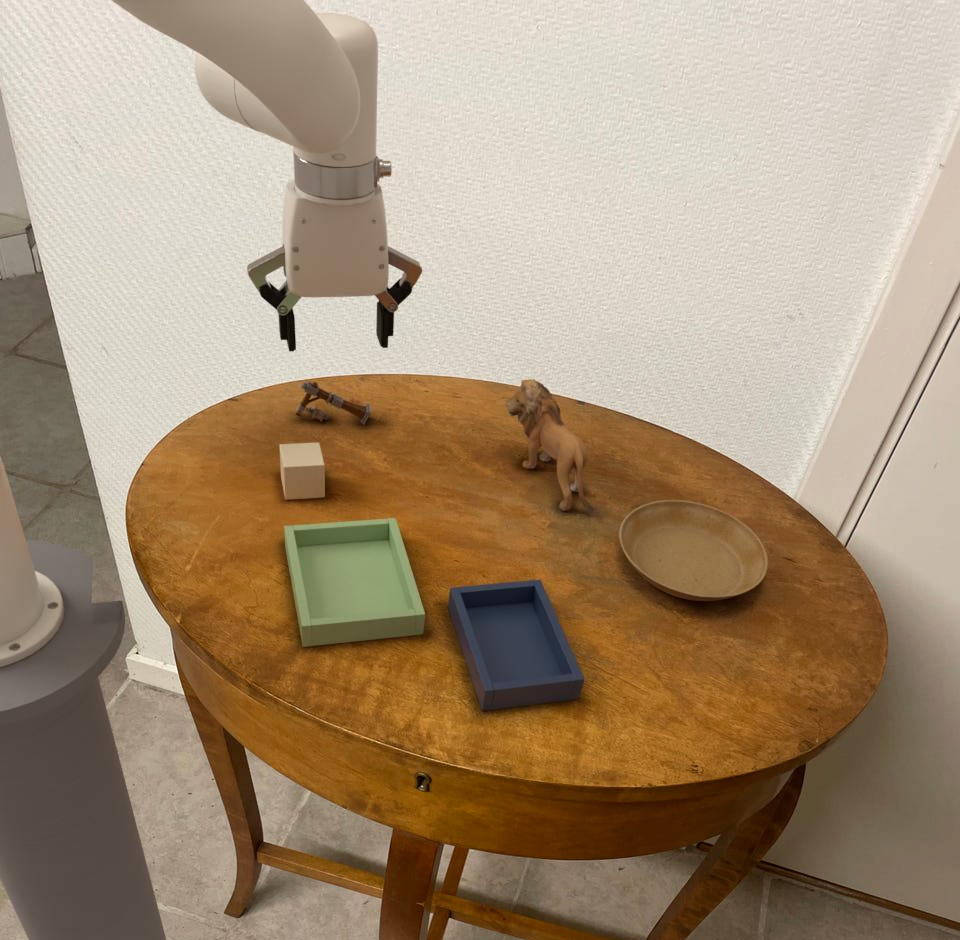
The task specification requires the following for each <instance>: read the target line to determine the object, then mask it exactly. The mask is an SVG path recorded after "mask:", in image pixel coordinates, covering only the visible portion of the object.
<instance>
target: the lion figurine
mask: <svg viewBox="0 0 960 940" xmlns="http://www.w3.org/2000/svg"><path fill="white" fill-rule="evenodd" d="M504 405H505V406H506V409H507V412H508V415H509V416H510V417H517V421H518V422H519V423H520V424H521V426H523V427H522V428H523V434H524V435H525V436H526V437H527V439H528V441H527V442H528V444H527V449H528V450H527V451H528V459H524V461H523V462H522V468H524V469H525V470H526V469H527V470H532V469H535V468H536V466H537V462H538V461H537V460H538V458H537V457H538V451H539V450H540V449H541V447H542V448H543V452H542V453H541V454H540V455H539V459H540V460H541V461H542V462H547V463H548V462H550V461H551V459H554V460H555V461H556V473H557V474H556V475H557V481H558V483H559V487H560V489H561V492H562V495H563V499H564V500H561V501H560V502H559V506H558V507H559V509H560V510H561V511H562V512H566V511H569V510H571V508H572V506H573V493H572V492H575V493H578V497H579V500H580V503H582V506H583V507H584V509H585V511H586V512H588V513H590V514H593V513H595V512H596V511H595V510H596V509H595V508H594V507H593V506H592V504H590V503H589V502H588V500H587V499H586V497H585V495H584V486H583V483H584V481H583V479H584V477H583V476H584V475H583V474H584V471H585V470H584V469H585V468H586V465H587V464H588V451H587V448H586V444H585V443H584V441H583V440H582V439H581V438H580V437H578V436H576V434H574V433H573V432H572V431H571V430H570V428H569V427H567V425H566V424H565V423H564V422H563V419H562V417H561V408H560V406H559V404H558V401H557V399H556V398H555V397H554V395H553V393H551V391H550V390H549V389H548V388H547V387H546V386H544V384H543V383H542V382H540V381H538V380H536V379H532V378H531V379H521V385H520V386H519V389H518V390H516V391H515V393H514V395H512V396H511V397H510V398H508V399H506V400H505V401H504ZM572 471H574V476H575V478H574V482H572V483H570V474H571V472H572Z"/></svg>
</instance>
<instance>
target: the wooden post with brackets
mask: <svg viewBox="0 0 960 940" xmlns="http://www.w3.org/2000/svg"><path fill="white" fill-rule="evenodd" d="M300 387H301V389H303V391H304V393H305V395H304V396H303V399H302V400H301V401H300V402H299V404H298V406H297V408H296V410H295V416H296V417H299V418H300V417H301V415H302V414H303V413H304V412H305V411H306V412H307V413H308V414H311V419H313V420H314V418H315V419H317V420H319V421H320V422H323V420H324V421H326V420H328V419H329V415H328V414H327V413H326V410H322V409H320V408H318V406H314V408H312V407H307V406H308V405H309V404H310V403H314V402H316V401H318V400H323V401H325V403H326V404H327V405H328V404H329V405H330V406H331V407H332V406H333V407H335V408H337V409H339V410H340V409H341V410H344V411H346V412H348V413H350V415H351V414H352V415H353V416H355V417H356V418H358V419H360V424H362V425H365V423H366V422H367V420H368V418H369V416H370V415H371V411H372V410H371V404H370V403H366V404H365V405H363V404H357V403H354V402H352V401H348V400H345V399H344V397H341V396H339V395H338V394H335V393H333V392H332V391H326V390H324V389H322V388H320V385H319V384H318V382H316V381H312V382H311V381H310V380H307V382H305V381H303V382H301V384H300ZM312 396H313V398H311V397H312Z"/></svg>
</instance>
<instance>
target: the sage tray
mask: <svg viewBox="0 0 960 940" xmlns="http://www.w3.org/2000/svg"><path fill="white" fill-rule="evenodd" d="M283 530H284V531H283V532H284V549H285V552H286V560H287V564H288V565H287V566H288V571H289V577H290V583H291V587H292V594H293V599H294V607H295V610H296V618H297V622H298V628H299V633H300V640H301V645H302V648H305V647H314V646H315V647H316V646H324V645H333V644H345V643H353V642H364V641H373V640H383V639H391V638H401V637H410V636H411V637H412V636H421V635H422V636H423V635H424V632H425V621H426V612H425V609H424V605H423V602H422V599H421V596H420V592H419V589H418V586H417V582H416V579H415V576H414V573H413V570H412V567H411V563H410V560H409V557H408V553H407V549H406V547H405V544H404V541H403V538H402V537H403V536H402V534H401V531H400V527H399V524H398V521H397V518H396V517H388V518H378V519H361V520H350V521H349V520H348V521H336V522H321V523H307V524H294V525H293V524H291V525H284V526H283Z"/></svg>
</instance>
